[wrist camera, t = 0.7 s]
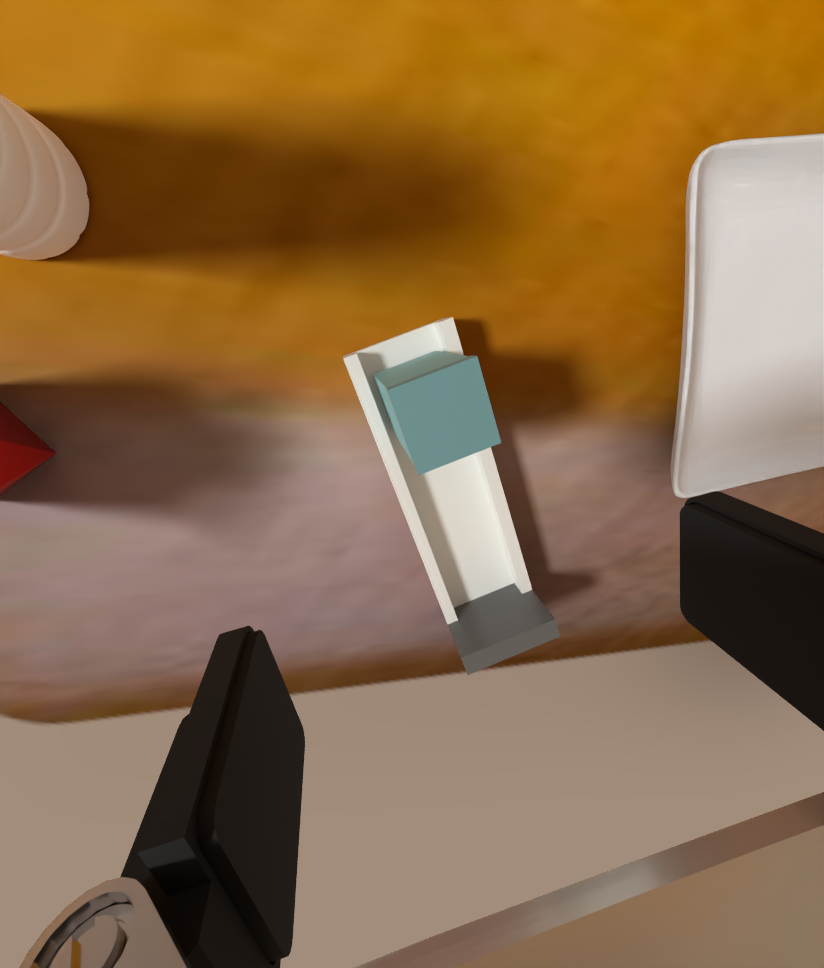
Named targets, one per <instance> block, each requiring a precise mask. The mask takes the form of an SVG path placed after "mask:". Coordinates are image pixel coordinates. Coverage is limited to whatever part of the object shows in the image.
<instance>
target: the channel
mask: <svg viewBox="0 0 824 968" xmlns="http://www.w3.org/2000/svg"><path fill="white" fill-rule="evenodd" d="M433 351H440V352H446V353H452V354H458V355H464V354H463V350H462V347H461V343H460V340H459V336H458V333H457V330H456V326H455V323H454V319H453V317H451V318H443V319H440V320H437V321H435V322H432V323H430V324H427V325H424V326H422V327H419V328H416V329H414V330H411V331H408V332H406V333H403V334H400V335H398V336H395V337H392V338H390V339H387V340H384V341H382V342H379V343H377V344H374V345H371V346H369V347H366V348H363V349H361V350H358V351H355V352H353V353H350V354H347V355H345V356H342V357H343V359H344V362H345V365H346V367H347V370H348V372H349V375H350V377H351V380H352V382H353V385H354V387H355V390H356V393H357V395H358V398H359V400H360V403H361V405H362V408H363V410H364V413H365V415H366V418H367V421H368V423H369V426H370V428H371V431H372V433H373V436H374V438H375V441H376V443H377V446H378V449H379V451H380V454H381V456H382V459H383V461H384V464H385V466H386V469H387V471H388V474H389V477H390V479H391V482H392V484H393V487H394V489H395V492H396V494H397V497H398V499H399V502H400V505H401V507H402V510H403V512H404V515H405V517H406V520H407V522H408V525H409V527H410V530H411V533H412V535H413V538H414V540H415V543H416V545H417V548H418V550H419V553H420V555H421V558H422V561H423V563H424V566H425V568H426V571H427V573H428V576H429V578H430V581H431V583H432V586H433V589H434V591H435V594H436V596H437V599H438V601H439V604H440V606H441V609H442V612H443V614H444V617H445V619H446V622H447V624H448V627H449V629H450V632H451V634H452V637H453V639H454V642H455V644H456V647H457V649H458V652H459V654H460V657H461V659H462V662H463V664H464V667H465V669H466V672H467V674H468V675H469V674H471V673H473V672H476V671H478V670H481V669H483V668H485V667H488V666H490V665H493V664H495V663H497V662H500V661H502V660H505V659H507V658H509V657H512V656H514V655H517V654H519V653H521V652H524V651H526V650H529V649H531V648H533V647H536V646H538V645H541V644H543V643H545V642H548V641H550V640H553V639H555V638H557V637H560V635H559V631H558V627H557V624H556V620H555V618H554V617H553V616H552V614H551V613H550V612H549V610H548V609H547V608H546V607H545V605H544V604H543V603H542V601H541V600H540V599H539V598H538V596H537V595H536V594H535V593H534V591H533V590H532V587H531V584H530V580H529V577H528V573H527V570H526V566H525V563H524V560H523V556H522V553H521V549H520V546H519V542H518V539H517V536H516V532H515V529H514V525H513V522H512V518H511V515H510V511H509V508H508V505H507V501H506V498H505V494H504V491H503V487H502V484H501V481H500V477H499V474H498V470H497V467H496V463H495V460H494V457H493V453H492V450H491V447H490V448H487V449H485V450H482V451H479V452H477V453H474V454H472V455H469V456H467V457H464V458H462V459H459V460H457V461H454V462H452V463H449V464H446V465H444V466H441V467H439V468H436V469H434V470H431V471H429V472H426V473H424V474H421V475H419V474H418V473H417V471H416V469H415V466H414V464H413V462H412V461H411V459H410V458H409V456H408V454H407V453H406V451H405V450H404V448H403V446H402V445H401V443H400V442H399V440H398V438H397V437H396V435H395V432H394V430H393V427H392V424H391V422H390V419H389V416H388V414H387V411H386V408H385V406H384V403H383V400H382V397H381V395H380V392H379V389H378V387H377V384H376V381H375V379H374V376H373V374H375V373H378V372H380V371H383V370H386V369H388V368H391V367H394V366H396V365H399V364H401V363H404V362H407V361H409V360H412V359H415V358H417V357H420V356H422V355H425V354H428V353H430V352H433Z"/></svg>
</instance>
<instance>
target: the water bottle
mask: <svg viewBox="0 0 824 968" xmlns="http://www.w3.org/2000/svg"><path fill="white" fill-rule="evenodd" d="M88 216H89V199H88V196H87V185H86V182H85V179H84V176H83V174H82V171H81V169H80V167H79V165H78V163H77V162H76V160H75V158H74V157H73V155H72V154H71V152H70V151H69V150H68V149H67V148H66V147H65V145H64V144H63V142H62V141H61V140H60V139H59V138H58V137H57V136H56V135H55V134H54V133H53V132H52V131H51V130H50V129H48V128H47V127H46V126H45V125H43V124H42V123H41V122H40V121H38V120H37V119H35V118H34V117H33V116H31V115H30V114H29V113H27V112H26V111H25V110H23V109H22V108H20V107H19V106H17V105H16V104H14V103H13V102H11V101H10V100H8V99H7V98H5V97H4V96H3V95H2V94H0V254H1V255H6V256H10V257H14V258H19V259H27V260H41V259H46V258H48V257H54V256H58V255H60V254H62V253H64V252H66V251H67V250H69V249H70V248H71V247H73V246H74V245H75V244H76V242H77V241H78V240H79V237H80V234H81V233H82V232H83V231H84V230H85V228H86V225H87V221H88Z"/></svg>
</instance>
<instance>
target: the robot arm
mask: <svg viewBox="0 0 824 968" xmlns="http://www.w3.org/2000/svg"><path fill="white" fill-rule="evenodd" d="M680 607H681V611H682V614H683V615H684V617H685V619H686V620H687V621H688V622H689V623H690V624H691V625H693V626H694V627H695V628H696V629H698V630H699V631H700V632H701V633H703V634H704V635H705V636H706V637H708V638H709V639H710V640H711V641H712V642H714V643H715V644H716V645H717V646H719V647H720V648H721V649H723V650H724V651H725V652H726V653H728V654H729V655H730V656H731V657H732V658H734V659H735V660H736V661H737V662H739V663H740V664H741V665H742V666H744V667H745V668H746V669H747V670H749V671H750V672H751V673H752V674H754V675H755V676H756V677H757V678H759V679H760V680H761V681H762V682H764V683H765V684H766V685H767V686H769V687H770V688H771V689H772V690H774V691H775V692H776V693H778V694H779V695H780V696H781V697H782V698H784V699H785V700H786V701H787V702H789V703H790V704H791V705H792V706H794V707H795V708H796V709H797V710H798V711H800V712H801V713H802V714H803V715H805V716H806V717H807V718H808V719H810V720H811V721H812V722H813V723H815V724H816V725H817V726H818V727H820V728H821V729H822V730H823V731H824V534H823V533H821V532H818V531H816V530H813V529H811V528H808V527H806V526H803V525H801V524H798V523H796V522H793V521H791V520H789V519H786V518H784V517H781V516H779V515H776V514H774V513H771V512H769V511H766V510H764V509H761V508H759V507H756V506H754V505H751V504H749V503H746V502H744V501H741V500H739V499H736V498H734V497H731V496H729V495H726V494H724V493H721V492H717V491H714V492H709V493H706V494H702V495H699V496H695V497H692V498H689V499H688V500H687V501H686V503H685V506H684V507H683V508H682V509H681V511H680ZM304 749H305V737H304V731H303V727H302V724H301V721H300V719H299V717H298V714H297V712H296V710H295V707H294V705H293V702H292V700H291V697H290V695H289V693H288V690H287V688H286V685H285V683H284V681H283V678H282V676H281V673H280V671H279V668H278V666H277V664H276V661H275V659H274V656H273V654H272V652H271V649H270V647H269V644H268V642H267V640H266V637H265V635H264V633H263V632H262V631H261V630H258V631H255V632H254V630H253V629H252V628H251V627H250V626H246V627H243V628H239V629H236V630H232V631H229V632H225V633H222V634H220V635H219V637H218V638H217V641H216V644H215V646H214V649H213V652H212V655H211V657H210V660H209V663H208V665H207V668H206V671H205V673H204V676H203V679H202V681H201V684H200V687H199V689H198V692H197V695H196V697H195V700H194V703H193V705H192V708H191V711H190V713H189V714H188V715H187V716H186V717H185V718H183V720H182V722H181V724H180V725H179V728H178V730H177V733H176V735H175V738H174V741H173V744H172V746H171V748H170V751H169V754H168V756H167V759H166V761H165V764H164V766H163V769H162V771H161V774H160V777H159V779H158V782H157V784H156V787H155V790H154V792H153V795H152V797H151V800H150V803H149V805H148V808H147V810H146V813H145V815H144V818H143V820H142V823H141V825H140V828H139V831H138V833H137V836H136V838H135V841H134V844H133V846H132V849H131V851H130V854H129V856H128V859H127V861H126V864H125V867H124V869H123V872H122V874H121V877H120V878H117V879H112V880H108V881H105V882H103V883H101V884H99V885H97V886H96V887H94V888H92V889H90V890H88V891H86V892H85V893H84V894H82V895H81V896H80V897H79V898H77V899H76V900H75V901H74V902H72V903H71V904H70V905H68V906H67V907H66V908H65V909H64V910H63V911H62V912H61V913H60V914H59V915H58V916H57V917H56V918H55V919H54V920H53V921H52V923H51V924H49V925H48V927H47V928H46V929H45V930H44V931H43V933H42V934H41V935H40V937H39V938H38V939H37V941H36V942H35V943H34V945H33V946H32V947H31V949H30V950H29V952H28V953H27V954H26V956H25V958H24V960H23V962H22V964H21V966H20V967H19V968H280V960H281V958H284V957H287V956H289V954H290V951H291V947H292V939H293V924H294V908H295V892H296V877H297V876H296V875H297V860H298V845H299V829H300V814H301V798H302V782H303V781H302V780H303V765H304V751H305V750H304ZM355 968H824V792H823V793H820V794H817V795H814V796H812V797H809V798H806V799H803V800H801V801H798V802H795V803H792V804H790V805H787V806H784V807H782V808H779V809H776V810H773V811H771V812H768V813H765V814H762V815H760V816H757V817H754V818H751V819H749V820H746V821H743V822H740V823H738V824H735V825H732V826H729V827H727V828H724V829H721V830H719V831H716V832H713V833H710V834H708V835H705V836H702V837H699V838H697V839H694V840H691V841H689V842H686V843H683V844H680V845H678V846H675V847H672V848H670V849H667V850H664V851H661V852H659V853H656V854H653V855H650V856H648V857H645V858H642V859H640V860H637V861H634V862H631V863H629V864H626V865H623V866H620V867H618V868H615V869H612V870H610V871H607V872H604V873H602V874H599V875H596V876H594V877H591V878H588V879H586V880H583V881H580V882H578V883H575V884H572V885H569V886H567V887H564V888H561V889H559V890H556V891H553V892H551V893H548V894H546V895H543V896H540V897H537V898H535V899H532V900H529V901H527V902H524V903H522V904H519V905H516V906H513V907H511V908H508V909H505V910H503V911H500V912H497V913H495V914H492V915H489V916H486V917H484V918H481V919H478V920H476V921H473V922H470V923H468V924H465V925H462V926H460V927H457V928H455V929H452V930H449V931H446V932H444V933H441V934H439V935H436V936H433V937H430V938H428V939H425V940H423V941H420V942H418V943H415V944H413V945H410V946H408V947H405V948H403V949H400V950H398V951H395V952H393V953H390V954H388V955H385V956H383V957H380V958H377V959H375V960H373V961H370V962H367V963H365V964H362V965H360V966H357V967H355Z"/></svg>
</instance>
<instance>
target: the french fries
mask: <svg viewBox="0 0 824 968" xmlns="http://www.w3.org/2000/svg"><path fill="white" fill-rule="evenodd" d="M54 454H56V453H55V452H54V451H53V450H52V449H51V448H50V447H49V446H48V445H47V444H46V443H44V442H43V441H42V440H41V439H40V438H39V437H38V436H37V435H36V434H35V433H33V432H32V431H31V430H30V429H29V428H28V427H27V426H26V425H25V424H24V423H22V422H21V421H20V420H19V419H18V418H17V417H16V416H15V415H14V414H13V413H11V412H10V411H9V410H8V409H7V408H6V407H5V406H4V405H3V404H2V403H1V402H0V495H1V494H3V493H4V492H5V491H7V490H8V489H9V488H11V487H12V486H13V485H14V484H16V483H17V482H18V481H20V480H21V479H22V478H24V477H25V476H26V475H28V474H29V473H30V472H32V471H33V470H34V469H36V468H37V467H38V466H40V465H41V464H42V463H44V462H45V461H46V460H48V459H49V458H50V457H52V456H53V455H54Z"/></svg>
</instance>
